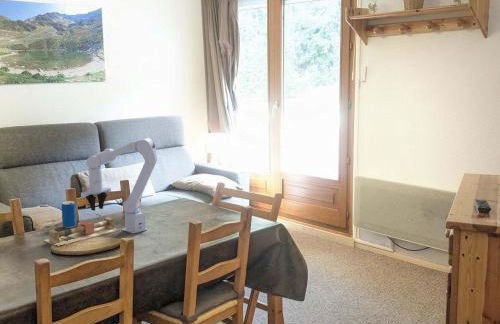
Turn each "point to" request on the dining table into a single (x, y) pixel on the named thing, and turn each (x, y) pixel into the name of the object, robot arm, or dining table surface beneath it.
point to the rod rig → (75, 233)
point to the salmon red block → (87, 227)
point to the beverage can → (69, 214)
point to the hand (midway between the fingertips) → (97, 209)
